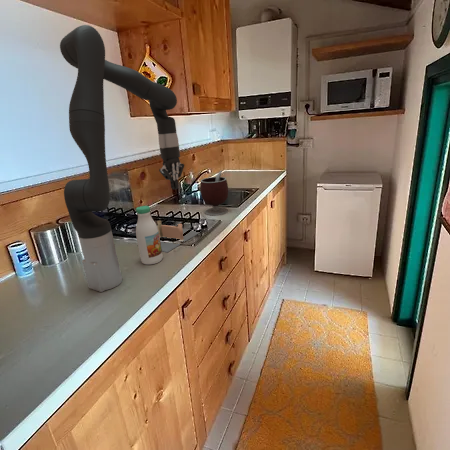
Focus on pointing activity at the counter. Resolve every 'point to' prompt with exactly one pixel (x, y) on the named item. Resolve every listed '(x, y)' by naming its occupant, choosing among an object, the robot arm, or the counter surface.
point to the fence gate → (172, 231)
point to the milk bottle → (148, 237)
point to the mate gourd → (214, 194)
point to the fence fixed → (159, 228)
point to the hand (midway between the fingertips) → (175, 188)
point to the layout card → (170, 246)
